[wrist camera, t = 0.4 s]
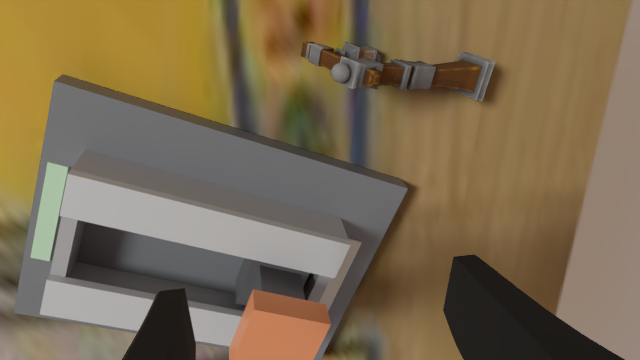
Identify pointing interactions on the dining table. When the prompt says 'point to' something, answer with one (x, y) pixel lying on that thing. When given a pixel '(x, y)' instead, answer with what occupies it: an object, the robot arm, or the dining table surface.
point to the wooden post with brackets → (400, 70)
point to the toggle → (276, 315)
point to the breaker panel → (205, 161)
